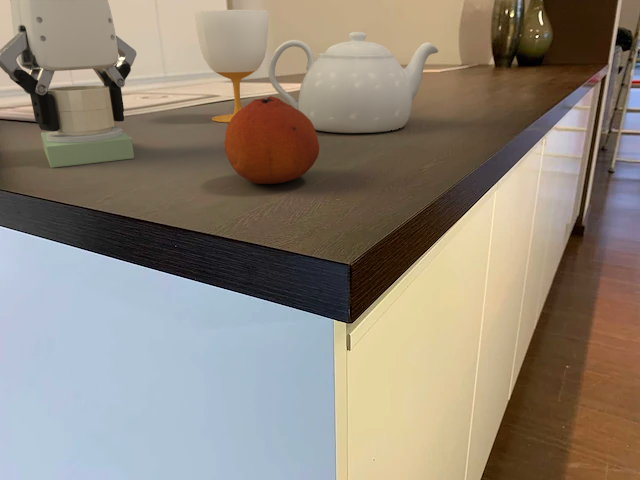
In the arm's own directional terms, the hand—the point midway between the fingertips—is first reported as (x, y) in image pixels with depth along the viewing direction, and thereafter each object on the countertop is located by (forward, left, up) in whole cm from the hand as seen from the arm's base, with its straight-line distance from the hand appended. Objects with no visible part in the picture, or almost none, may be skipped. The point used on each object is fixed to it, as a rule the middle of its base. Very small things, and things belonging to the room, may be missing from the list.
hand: (83, 124), depth 64 cm
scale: (-1, +1, -4) cm, 4 cm away
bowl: (0, 0, -1) cm, 1 cm away
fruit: (+25, -11, -4) cm, 28 cm away
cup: (+11, +31, -4) cm, 33 cm away
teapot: (+31, +23, -4) cm, 39 cm away
